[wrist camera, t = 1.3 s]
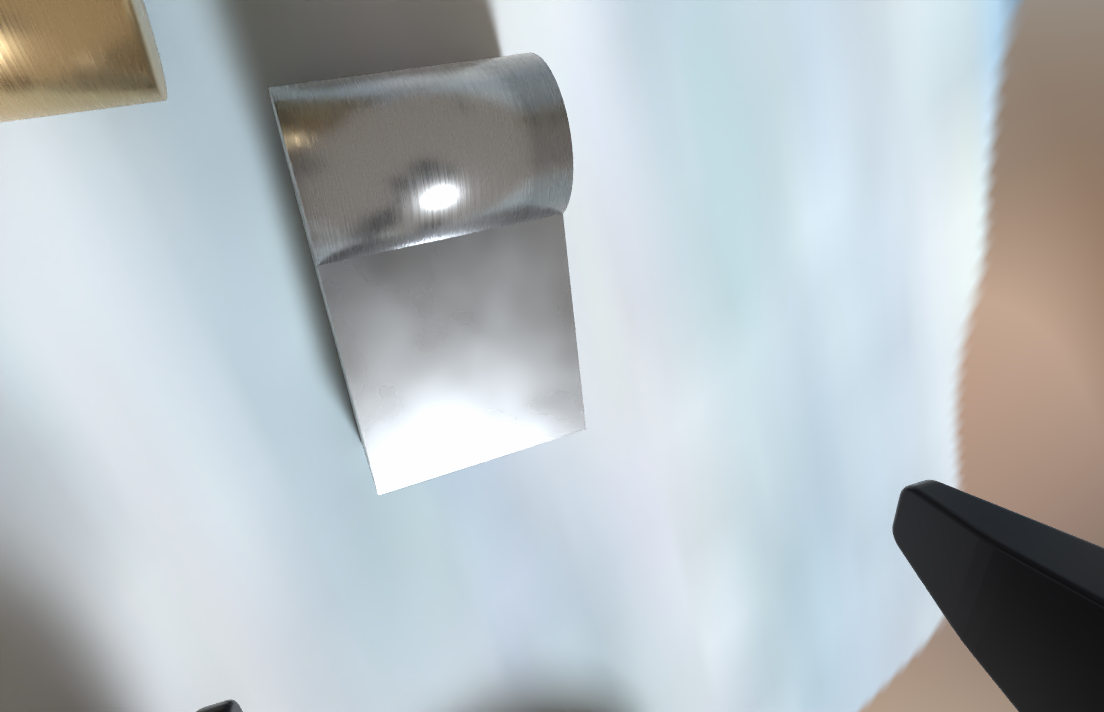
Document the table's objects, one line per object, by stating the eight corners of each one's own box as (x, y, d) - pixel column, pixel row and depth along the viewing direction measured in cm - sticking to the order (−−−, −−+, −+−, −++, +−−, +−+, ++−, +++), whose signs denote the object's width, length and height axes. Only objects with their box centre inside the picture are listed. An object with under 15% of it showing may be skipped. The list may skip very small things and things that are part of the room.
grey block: (546, 388, 22) (601, 445, 19) (361, 442, 21) (384, 516, 17) (503, 54, 18) (562, 50, 15) (266, 85, 16) (272, 88, 13)
